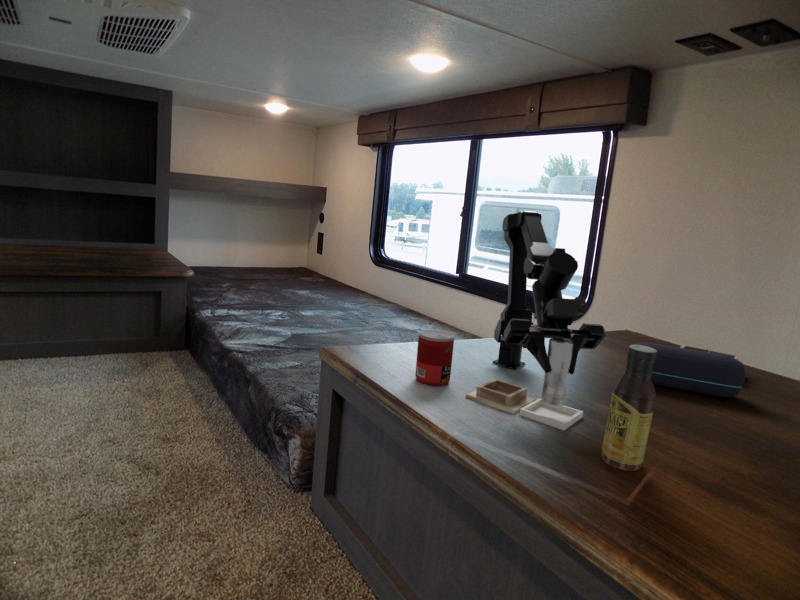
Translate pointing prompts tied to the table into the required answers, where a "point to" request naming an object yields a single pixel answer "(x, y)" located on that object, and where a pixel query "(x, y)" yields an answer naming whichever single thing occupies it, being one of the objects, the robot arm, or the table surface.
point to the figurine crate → (708, 350)
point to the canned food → (434, 357)
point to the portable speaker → (696, 371)
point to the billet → (557, 371)
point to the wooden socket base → (501, 395)
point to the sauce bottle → (630, 411)
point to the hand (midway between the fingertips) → (559, 372)
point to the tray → (551, 414)
